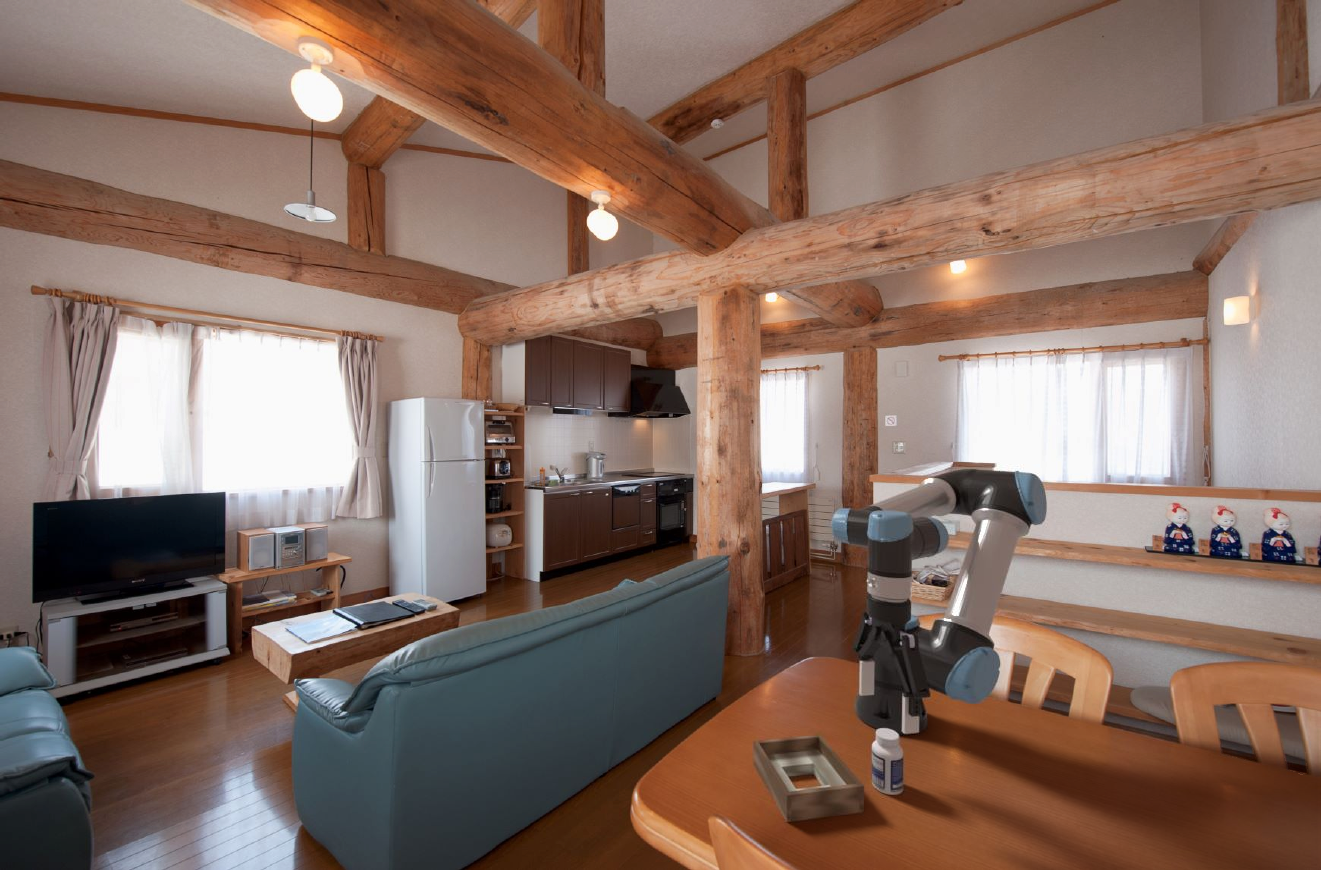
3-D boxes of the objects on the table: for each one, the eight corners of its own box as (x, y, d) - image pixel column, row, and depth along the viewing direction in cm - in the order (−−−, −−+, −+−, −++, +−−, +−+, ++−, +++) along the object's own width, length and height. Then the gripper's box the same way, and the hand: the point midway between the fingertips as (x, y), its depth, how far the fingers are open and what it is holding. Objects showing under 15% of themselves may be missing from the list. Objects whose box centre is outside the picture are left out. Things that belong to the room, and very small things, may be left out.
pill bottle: (901, 780, 102) (902, 728, 102) (904, 799, 97) (905, 744, 97) (870, 774, 104) (871, 723, 104) (872, 792, 99) (872, 738, 98)
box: (820, 756, 109) (820, 734, 109) (863, 812, 93) (863, 786, 93) (753, 764, 107) (753, 741, 107) (786, 822, 91) (786, 795, 91)
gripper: (836, 578, 111) (834, 682, 112) (913, 620, 87) (911, 753, 87) (869, 577, 113) (868, 680, 113) (955, 618, 88) (953, 749, 88)
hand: (887, 712), depth 100 cm, fingers open, 13 cm apart
